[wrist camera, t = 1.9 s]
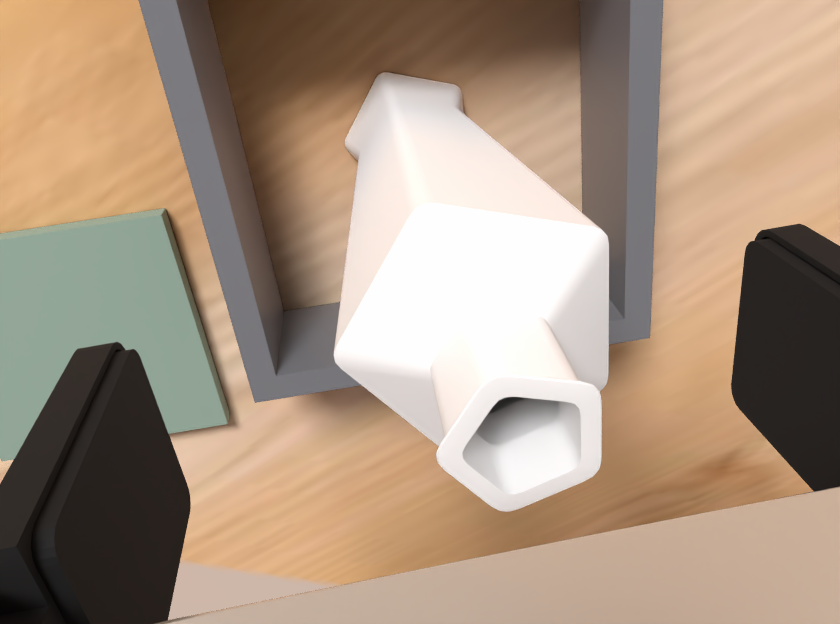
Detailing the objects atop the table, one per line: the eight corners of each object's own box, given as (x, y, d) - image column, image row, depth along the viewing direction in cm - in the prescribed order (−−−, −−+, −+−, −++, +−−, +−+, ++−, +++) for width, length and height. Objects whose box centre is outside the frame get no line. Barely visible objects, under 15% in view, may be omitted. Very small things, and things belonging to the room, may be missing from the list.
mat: (165, 208, 22) (161, 214, 22) (229, 413, 26) (227, 424, 26) (-96, 248, 22) (-107, 256, 21) (8, 450, 26) (1, 461, 25)
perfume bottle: (440, 229, 24) (576, 611, 10) (318, 170, 22) (299, 525, 9) (514, 104, 22) (787, 371, 9) (386, 31, 21) (485, 221, 7)
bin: (607, -115, 19) (668, -123, 16) (605, 280, 25) (649, 337, 22) (163, -52, 19) (124, -47, 15) (265, 335, 25) (254, 402, 21)
